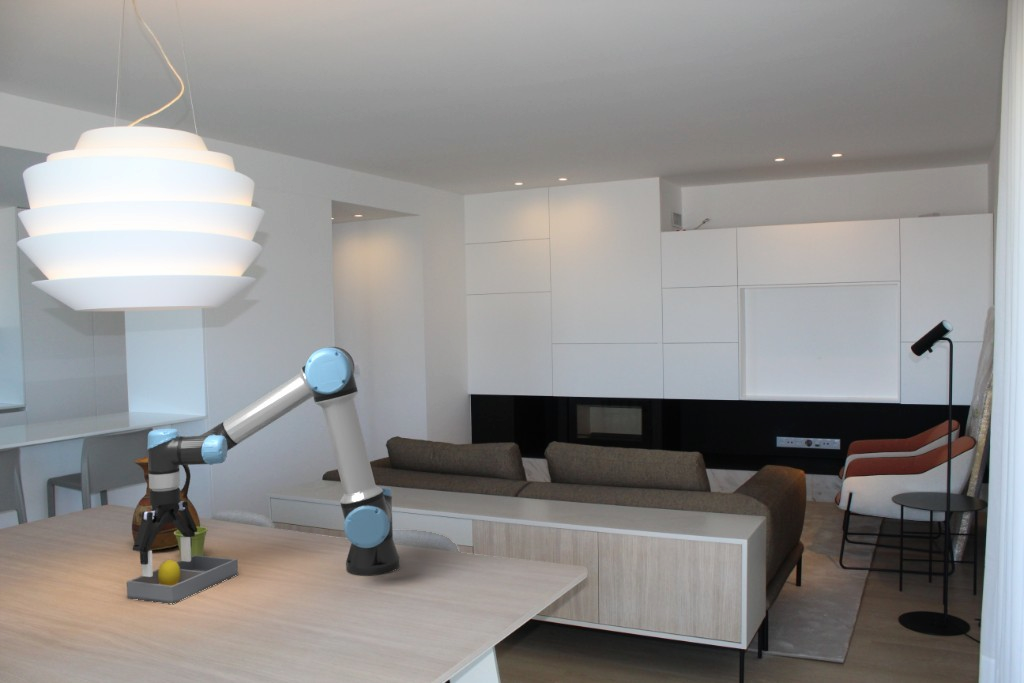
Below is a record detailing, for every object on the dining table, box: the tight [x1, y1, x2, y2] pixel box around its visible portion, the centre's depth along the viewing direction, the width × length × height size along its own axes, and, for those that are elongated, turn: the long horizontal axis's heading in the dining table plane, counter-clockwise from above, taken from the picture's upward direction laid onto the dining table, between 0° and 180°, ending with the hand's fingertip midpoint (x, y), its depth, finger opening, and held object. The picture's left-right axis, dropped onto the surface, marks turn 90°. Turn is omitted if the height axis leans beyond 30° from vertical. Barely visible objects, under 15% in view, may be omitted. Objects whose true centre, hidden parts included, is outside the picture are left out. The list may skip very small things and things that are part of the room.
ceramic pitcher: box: [131, 455, 201, 551], centre depth 262 cm, size 20×20×30 cm
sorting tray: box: [126, 555, 239, 605], centre depth 221 cm, size 15×25×4 cm, turn 159°
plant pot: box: [174, 526, 208, 557], centre depth 247 cm, size 9×9×9 cm
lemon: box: [158, 559, 180, 586], centre depth 215 cm, size 6×6×8 cm
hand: (167, 568), depth 215 cm, fingers open, 13 cm apart
